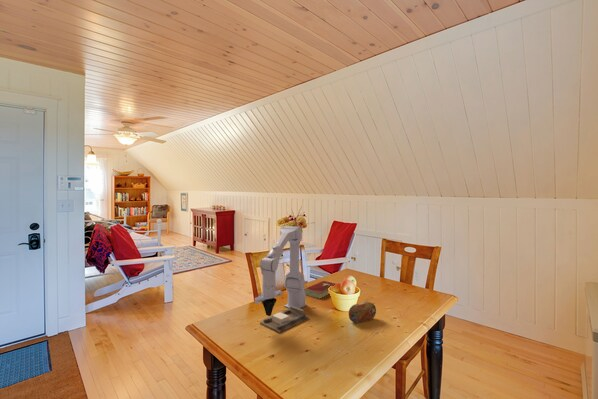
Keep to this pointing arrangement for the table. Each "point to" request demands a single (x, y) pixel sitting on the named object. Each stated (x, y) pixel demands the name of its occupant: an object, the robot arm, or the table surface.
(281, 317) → the block
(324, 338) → the table surface
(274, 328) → the brown and grey tray
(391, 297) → the table surface
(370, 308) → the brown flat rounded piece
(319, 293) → the hardcover book
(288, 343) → the table surface
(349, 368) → the table surface
